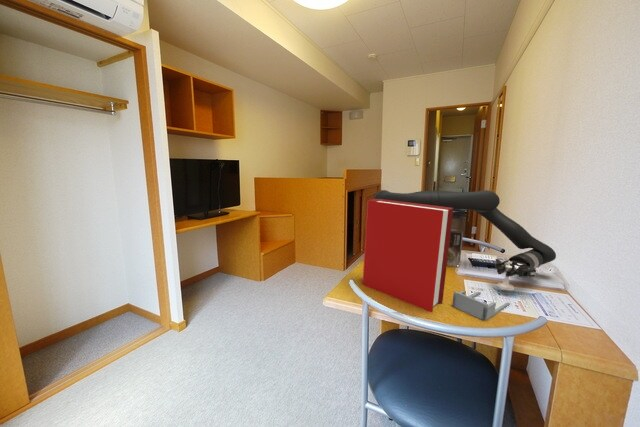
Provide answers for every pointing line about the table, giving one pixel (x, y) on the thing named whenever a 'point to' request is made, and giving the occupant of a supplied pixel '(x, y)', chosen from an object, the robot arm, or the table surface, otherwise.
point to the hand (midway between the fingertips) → (503, 272)
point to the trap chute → (475, 305)
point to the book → (407, 250)
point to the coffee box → (455, 247)
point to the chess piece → (506, 279)
